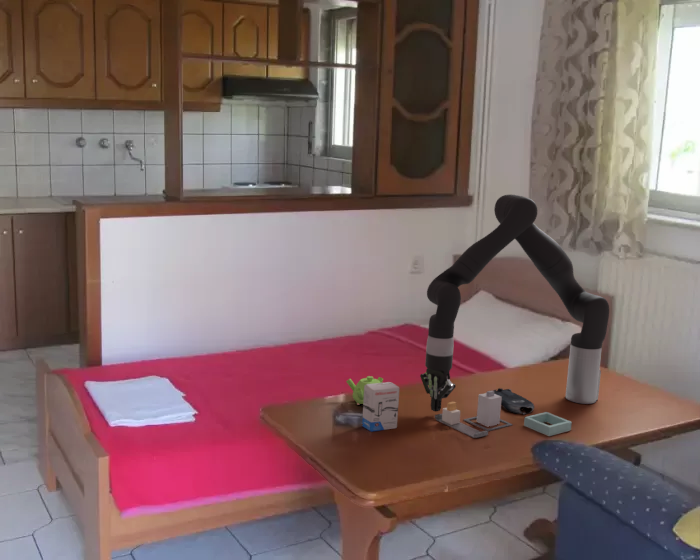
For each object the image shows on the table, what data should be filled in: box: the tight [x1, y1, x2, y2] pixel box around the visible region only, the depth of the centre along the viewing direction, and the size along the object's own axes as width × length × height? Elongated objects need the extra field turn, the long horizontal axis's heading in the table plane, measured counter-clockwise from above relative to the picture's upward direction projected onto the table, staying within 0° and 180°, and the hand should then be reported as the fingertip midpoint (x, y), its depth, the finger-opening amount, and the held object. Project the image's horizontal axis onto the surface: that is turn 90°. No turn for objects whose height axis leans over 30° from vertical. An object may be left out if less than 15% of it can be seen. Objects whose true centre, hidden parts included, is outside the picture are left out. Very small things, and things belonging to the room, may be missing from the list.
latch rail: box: [434, 413, 489, 439], centre depth 222 cm, size 4×17×1 cm, turn 35°
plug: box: [476, 390, 502, 428], centre depth 226 cm, size 4×4×9 cm
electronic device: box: [491, 387, 535, 415], centre depth 242 cm, size 9×6×15 cm
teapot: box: [346, 375, 384, 404], centre depth 236 cm, size 11×12×8 cm
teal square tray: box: [523, 411, 573, 437], centre depth 224 cm, size 9×9×2 cm
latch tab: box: [441, 401, 461, 425], centre depth 225 cm, size 3×4×6 cm
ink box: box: [361, 381, 400, 433], centre depth 218 cm, size 9×5×12 cm, turn 117°
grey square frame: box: [463, 415, 513, 432], centre depth 227 cm, size 10×10×1 cm
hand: (435, 410), depth 230 cm, fingers closed
